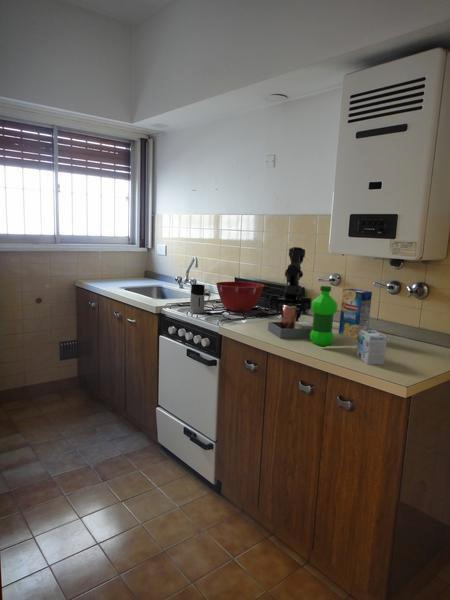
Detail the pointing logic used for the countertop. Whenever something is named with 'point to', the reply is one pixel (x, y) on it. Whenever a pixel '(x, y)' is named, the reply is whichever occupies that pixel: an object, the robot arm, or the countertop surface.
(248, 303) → the mixing bowl
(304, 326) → the egg carton
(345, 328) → the blue food box
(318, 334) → the plastic bottle
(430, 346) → the countertop surface
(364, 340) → the light bulb box
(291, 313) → the tin can
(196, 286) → the grey handled cylinder
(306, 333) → the tote
